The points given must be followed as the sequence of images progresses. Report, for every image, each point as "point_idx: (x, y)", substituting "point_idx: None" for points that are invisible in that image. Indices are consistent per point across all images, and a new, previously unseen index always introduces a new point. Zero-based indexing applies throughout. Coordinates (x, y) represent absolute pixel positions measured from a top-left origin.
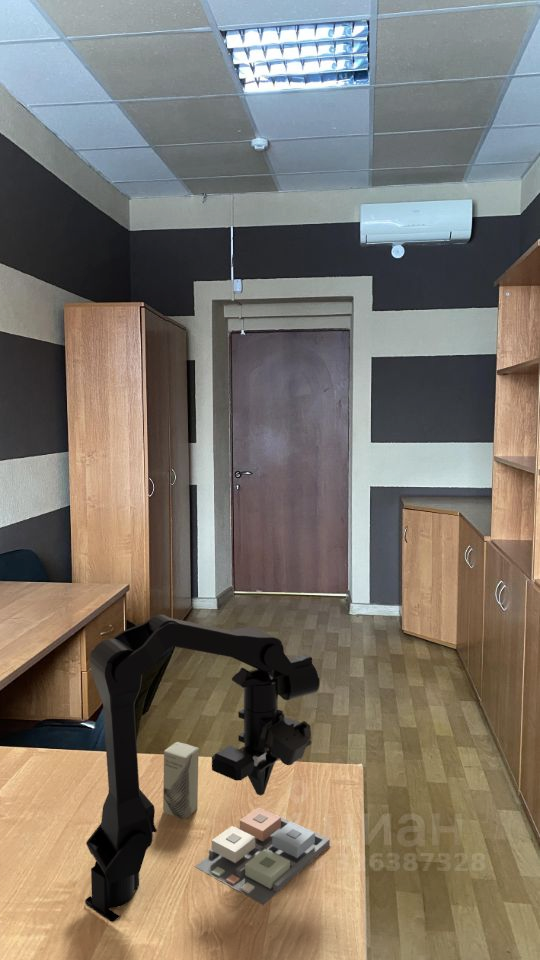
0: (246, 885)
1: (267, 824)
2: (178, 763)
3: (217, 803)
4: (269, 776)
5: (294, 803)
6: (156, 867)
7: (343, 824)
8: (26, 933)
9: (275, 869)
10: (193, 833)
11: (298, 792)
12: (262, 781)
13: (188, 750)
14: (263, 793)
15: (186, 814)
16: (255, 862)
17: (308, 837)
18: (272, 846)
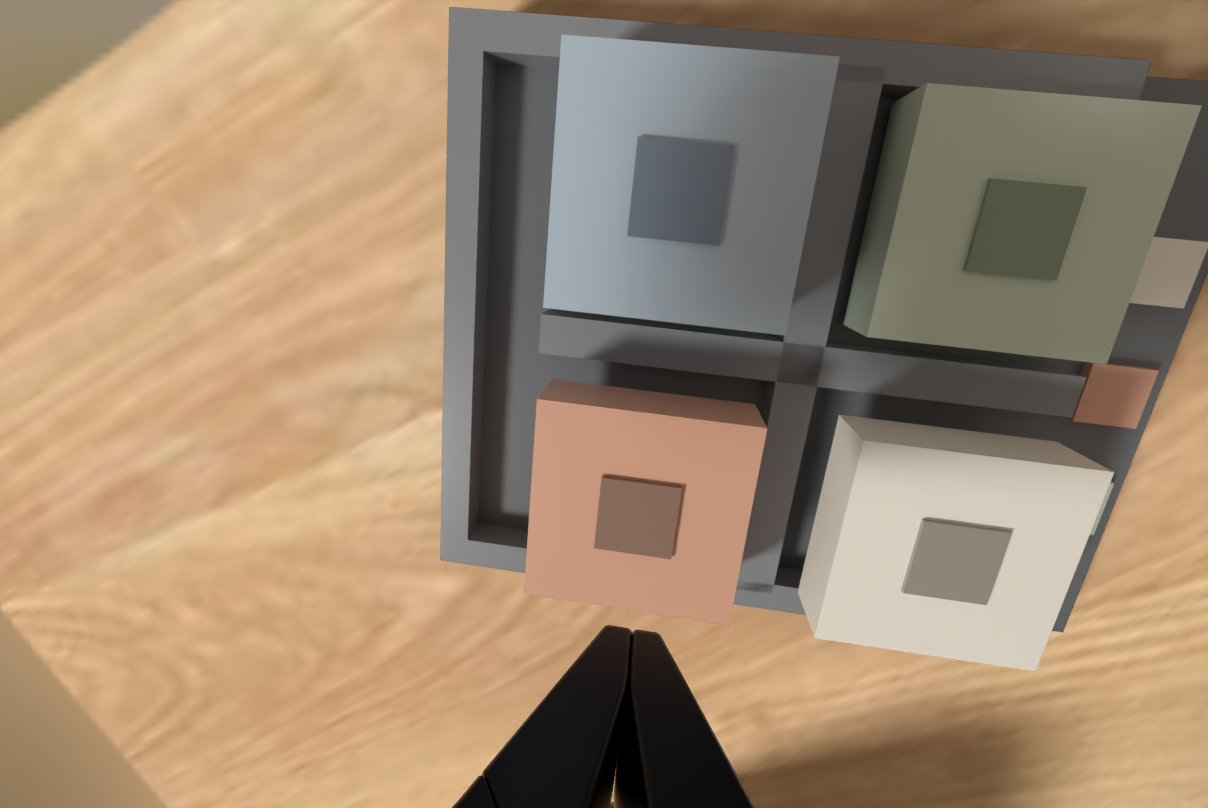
0: (1148, 287)
1: (672, 440)
2: None
3: (480, 770)
4: (509, 758)
5: (231, 464)
6: (1062, 768)
7: (196, 107)
8: None
9: (1078, 129)
10: (744, 753)
11: (139, 492)
12: (703, 787)
13: None
14: (623, 631)
15: None
16: (1054, 311)
17: (655, 47)
18: (733, 335)
